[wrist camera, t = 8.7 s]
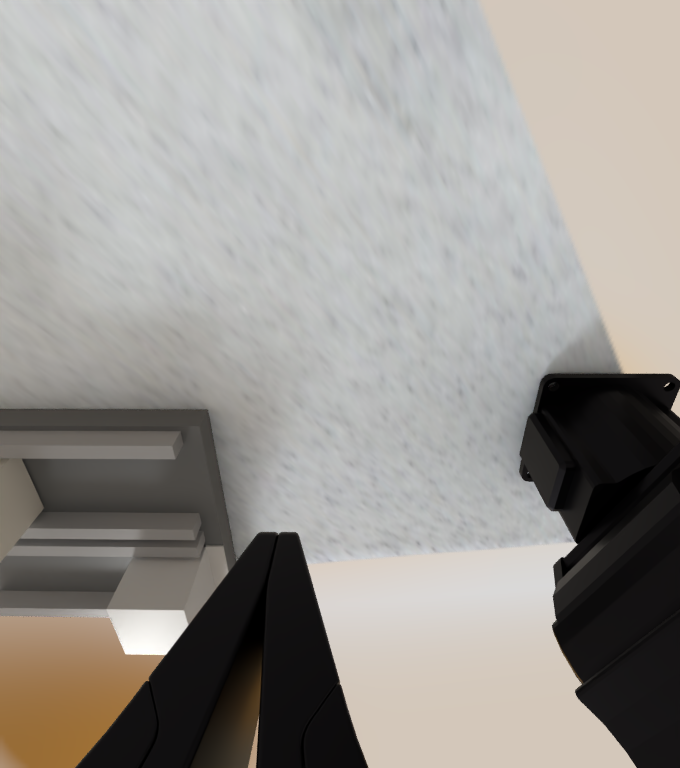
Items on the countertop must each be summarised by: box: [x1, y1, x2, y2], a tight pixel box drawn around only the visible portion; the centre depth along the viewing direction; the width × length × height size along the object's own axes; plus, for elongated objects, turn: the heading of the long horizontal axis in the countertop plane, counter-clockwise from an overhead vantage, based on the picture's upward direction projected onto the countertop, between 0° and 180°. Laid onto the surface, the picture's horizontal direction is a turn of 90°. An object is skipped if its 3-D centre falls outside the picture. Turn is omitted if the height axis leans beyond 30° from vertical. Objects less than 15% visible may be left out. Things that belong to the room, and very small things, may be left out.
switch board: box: [0, 409, 236, 617], centre depth 26 cm, size 16×14×3 cm
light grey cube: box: [106, 547, 216, 655], centre depth 26 cm, size 4×4×4 cm
